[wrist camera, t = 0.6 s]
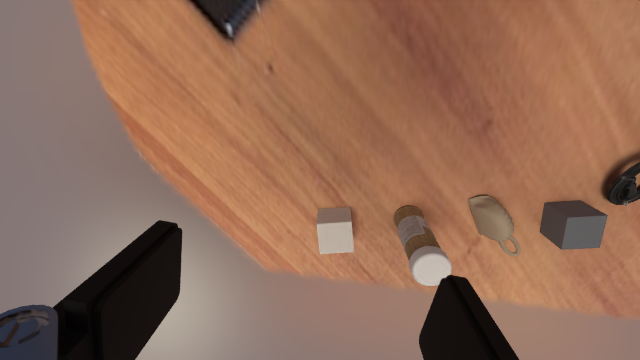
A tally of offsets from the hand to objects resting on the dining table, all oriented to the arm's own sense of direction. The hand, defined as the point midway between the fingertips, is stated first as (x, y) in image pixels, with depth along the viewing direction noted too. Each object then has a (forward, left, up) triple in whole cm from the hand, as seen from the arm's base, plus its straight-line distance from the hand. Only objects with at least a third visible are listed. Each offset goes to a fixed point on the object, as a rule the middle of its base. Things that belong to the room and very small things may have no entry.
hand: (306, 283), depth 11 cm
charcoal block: (-11, +36, -35) cm, 51 cm away
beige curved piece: (-4, +28, -35) cm, 45 cm away
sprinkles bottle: (+4, +19, -35) cm, 40 cm away
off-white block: (+12, +11, -35) cm, 38 cm away
